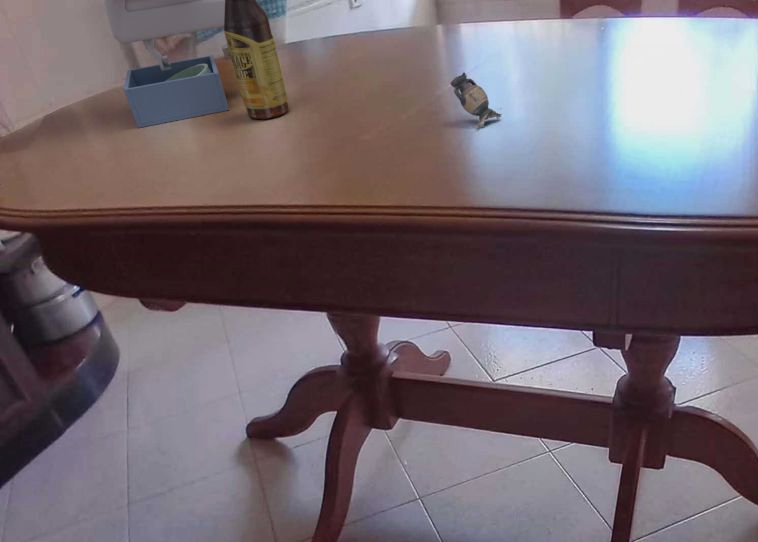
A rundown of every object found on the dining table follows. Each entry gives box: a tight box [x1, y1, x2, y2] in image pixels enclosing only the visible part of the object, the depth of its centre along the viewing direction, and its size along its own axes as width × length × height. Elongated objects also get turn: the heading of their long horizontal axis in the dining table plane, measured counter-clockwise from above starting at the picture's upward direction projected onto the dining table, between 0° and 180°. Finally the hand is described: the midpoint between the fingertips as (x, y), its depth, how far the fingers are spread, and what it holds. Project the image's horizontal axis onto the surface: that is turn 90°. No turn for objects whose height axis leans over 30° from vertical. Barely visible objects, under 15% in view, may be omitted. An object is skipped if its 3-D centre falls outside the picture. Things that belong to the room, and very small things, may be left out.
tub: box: [123, 54, 230, 129], centre depth 108 cm, size 13×13×6 cm
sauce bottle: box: [223, 0, 290, 120], centre depth 97 cm, size 6×6×20 cm
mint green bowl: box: [164, 64, 212, 82], centre depth 108 cm, size 9×9×3 cm
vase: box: [450, 72, 503, 132], centre depth 90 cm, size 5×5×6 cm
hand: (198, 63), depth 107 cm, fingers open, 8 cm apart
